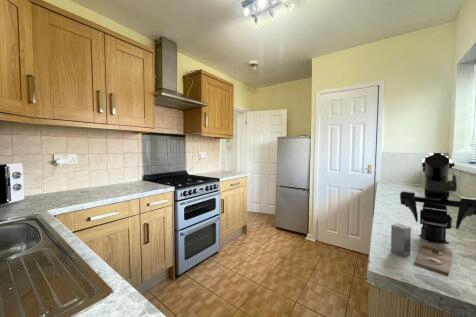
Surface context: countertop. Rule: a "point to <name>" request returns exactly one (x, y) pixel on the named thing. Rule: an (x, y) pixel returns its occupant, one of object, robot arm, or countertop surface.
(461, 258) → the countertop surface
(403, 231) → the block
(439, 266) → the mounting board
